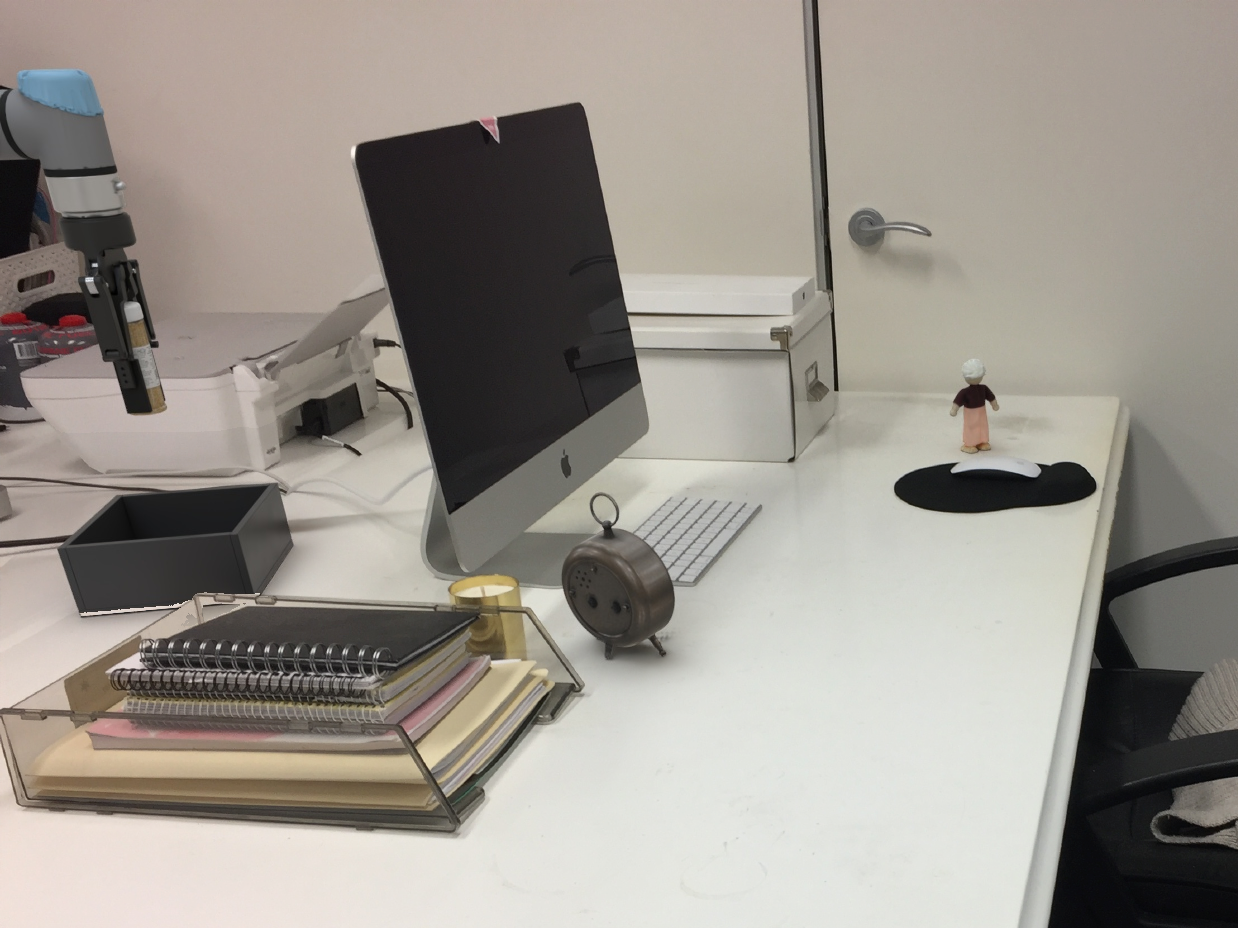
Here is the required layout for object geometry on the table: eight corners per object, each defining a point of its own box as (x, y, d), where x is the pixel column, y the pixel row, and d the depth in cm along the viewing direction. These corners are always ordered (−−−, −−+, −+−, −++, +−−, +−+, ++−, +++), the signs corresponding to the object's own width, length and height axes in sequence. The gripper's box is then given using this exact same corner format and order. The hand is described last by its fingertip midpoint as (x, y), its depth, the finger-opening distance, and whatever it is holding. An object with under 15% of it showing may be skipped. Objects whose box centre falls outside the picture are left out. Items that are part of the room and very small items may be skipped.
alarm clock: (684, 652, 127) (666, 492, 120) (647, 674, 123) (626, 510, 116) (600, 630, 132) (577, 475, 125) (562, 650, 128) (536, 492, 121)
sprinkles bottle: (133, 408, 167) (103, 301, 161) (172, 406, 168) (143, 299, 162) (123, 418, 164) (92, 308, 157) (163, 415, 164) (133, 306, 158)
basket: (80, 617, 139) (56, 548, 135) (136, 558, 154) (116, 494, 150) (256, 601, 141) (237, 533, 138) (293, 544, 157) (277, 482, 153)
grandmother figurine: (984, 441, 188) (984, 352, 182) (1002, 446, 185) (1003, 356, 179) (943, 452, 183) (942, 361, 178) (961, 458, 181) (961, 366, 175)
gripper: (100, 221, 148) (156, 423, 159) (150, 202, 163) (198, 388, 174) (28, 223, 147) (89, 427, 157) (85, 204, 162) (138, 391, 173)
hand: (146, 406), depth 166 cm, fingers closed on sprinkles bottle, 4 cm apart
